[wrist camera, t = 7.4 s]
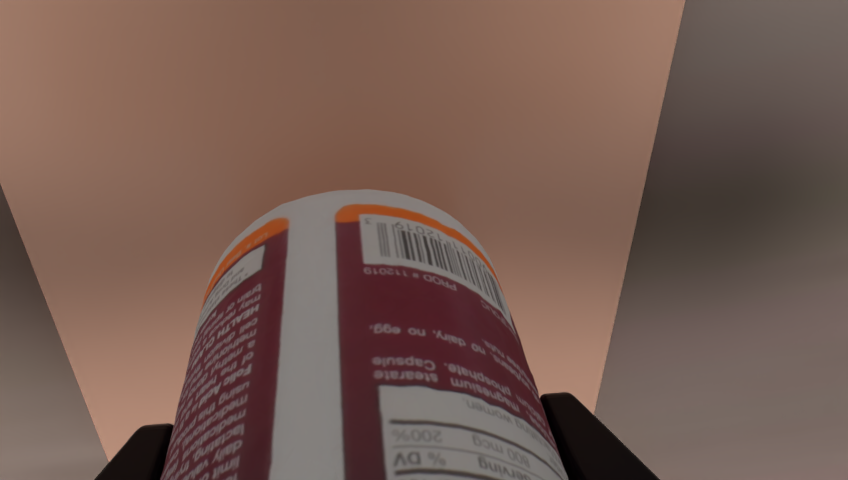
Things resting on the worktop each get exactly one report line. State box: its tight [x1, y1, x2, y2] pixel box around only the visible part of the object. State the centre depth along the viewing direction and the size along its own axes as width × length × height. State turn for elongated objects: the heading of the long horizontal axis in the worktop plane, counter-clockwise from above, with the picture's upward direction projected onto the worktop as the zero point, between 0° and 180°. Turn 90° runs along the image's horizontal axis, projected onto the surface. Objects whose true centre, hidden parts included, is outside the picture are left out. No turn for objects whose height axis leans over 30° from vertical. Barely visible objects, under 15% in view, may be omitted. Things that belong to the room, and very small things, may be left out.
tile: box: [0, 0, 685, 462], centre depth 13 cm, size 11×11×1 cm
